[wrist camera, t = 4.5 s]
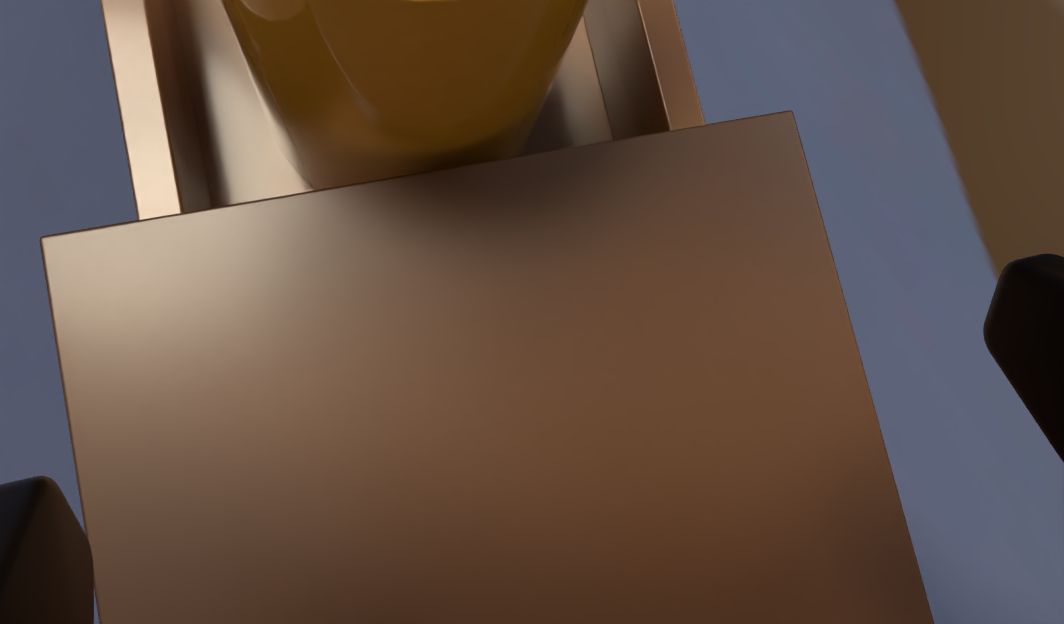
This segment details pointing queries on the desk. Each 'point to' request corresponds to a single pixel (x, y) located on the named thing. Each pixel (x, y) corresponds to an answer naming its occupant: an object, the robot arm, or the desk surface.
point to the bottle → (400, 80)
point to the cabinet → (486, 399)
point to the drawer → (252, 153)
